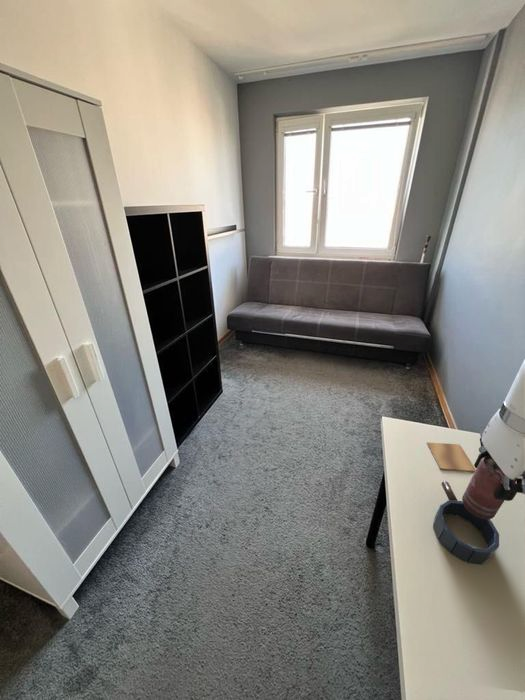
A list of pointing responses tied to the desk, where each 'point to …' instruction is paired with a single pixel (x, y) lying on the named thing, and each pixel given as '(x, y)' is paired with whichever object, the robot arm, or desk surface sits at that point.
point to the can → (484, 489)
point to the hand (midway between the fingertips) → (491, 481)
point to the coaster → (451, 457)
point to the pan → (482, 525)
